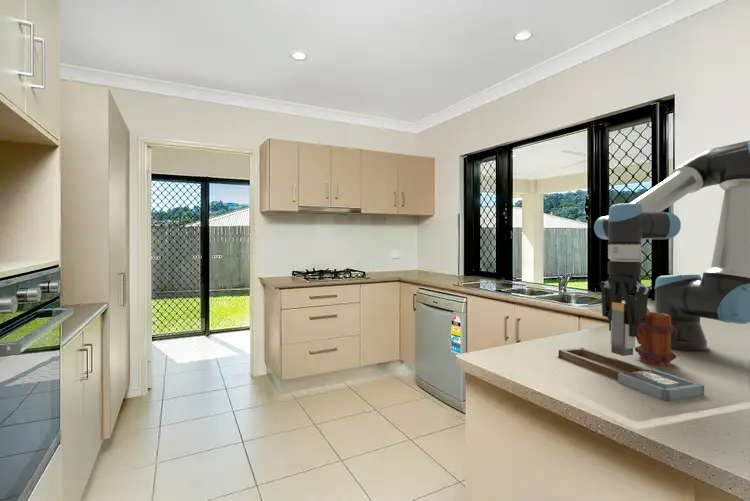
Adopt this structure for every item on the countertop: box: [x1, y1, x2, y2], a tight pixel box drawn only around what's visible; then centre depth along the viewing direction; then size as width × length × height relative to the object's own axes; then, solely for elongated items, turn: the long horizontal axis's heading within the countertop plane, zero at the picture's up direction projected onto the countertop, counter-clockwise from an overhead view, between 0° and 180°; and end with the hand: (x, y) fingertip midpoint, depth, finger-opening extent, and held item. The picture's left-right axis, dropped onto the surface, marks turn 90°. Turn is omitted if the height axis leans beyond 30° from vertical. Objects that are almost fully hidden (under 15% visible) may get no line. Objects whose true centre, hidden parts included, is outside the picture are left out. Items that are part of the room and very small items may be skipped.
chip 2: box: [647, 377, 679, 389], centre depth 83 cm, size 4×4×2 cm
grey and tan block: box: [610, 300, 634, 357], centre depth 102 cm, size 4×4×14 cm
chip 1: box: [631, 371, 661, 382], centre depth 87 cm, size 4×4×2 cm
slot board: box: [556, 347, 650, 382], centre depth 99 cm, size 10×20×3 cm, turn 16°
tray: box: [617, 368, 705, 402], centre depth 84 cm, size 11×11×3 cm
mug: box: [634, 307, 677, 367], centre depth 105 cm, size 15×8×15 cm, turn 168°
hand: (622, 345), depth 102 cm, fingers closed on grey and tan block, 3 cm apart
